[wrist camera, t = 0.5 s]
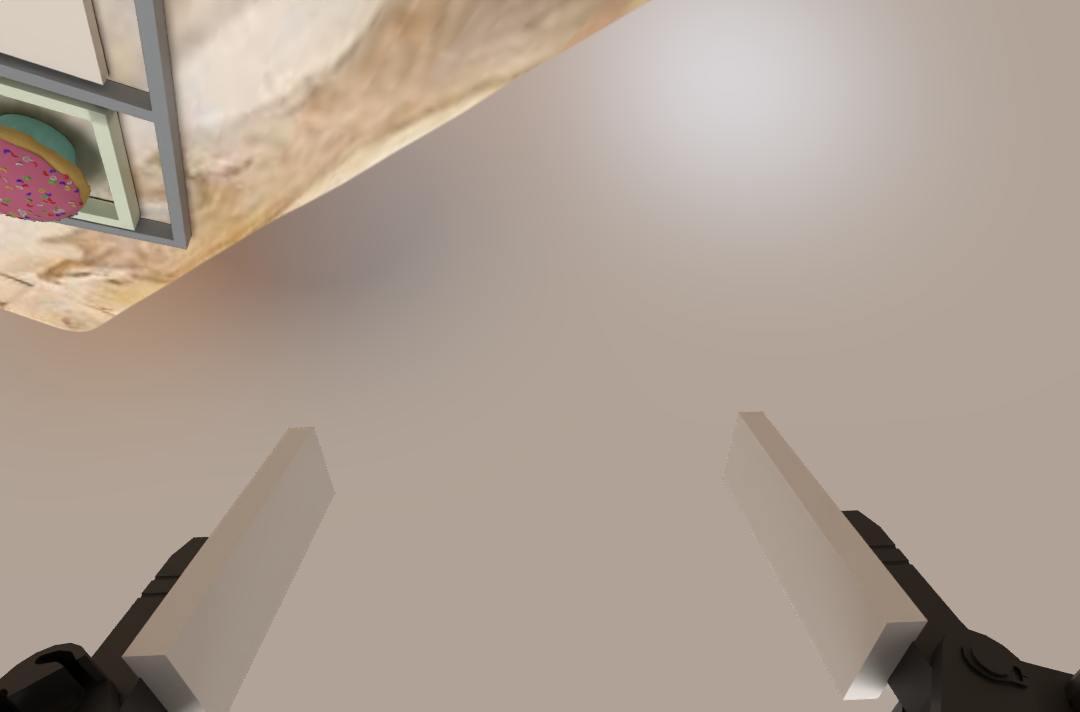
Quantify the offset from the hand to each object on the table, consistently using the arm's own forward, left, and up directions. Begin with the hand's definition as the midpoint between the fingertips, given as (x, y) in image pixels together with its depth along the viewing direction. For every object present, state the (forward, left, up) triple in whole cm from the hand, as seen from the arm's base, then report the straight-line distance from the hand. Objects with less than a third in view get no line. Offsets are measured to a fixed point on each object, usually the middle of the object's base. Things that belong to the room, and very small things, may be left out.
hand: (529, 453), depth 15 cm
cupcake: (-17, -35, -36) cm, 53 cm away
